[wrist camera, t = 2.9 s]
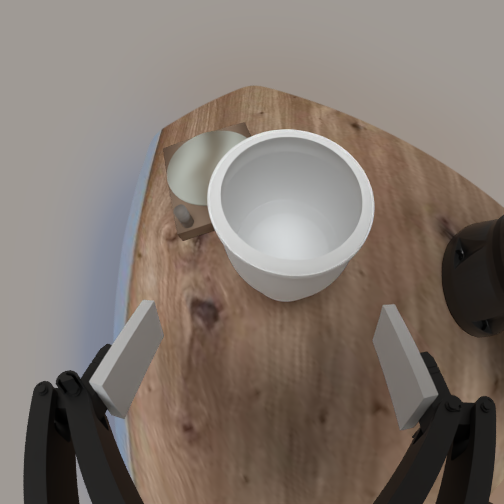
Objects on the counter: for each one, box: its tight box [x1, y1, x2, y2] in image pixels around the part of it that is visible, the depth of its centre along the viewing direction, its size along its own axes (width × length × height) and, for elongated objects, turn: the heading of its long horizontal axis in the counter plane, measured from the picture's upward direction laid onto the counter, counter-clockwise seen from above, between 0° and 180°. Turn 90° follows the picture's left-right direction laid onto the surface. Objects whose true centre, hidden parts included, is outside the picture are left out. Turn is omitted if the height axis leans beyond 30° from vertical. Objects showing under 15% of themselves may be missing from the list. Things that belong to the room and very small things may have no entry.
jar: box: [207, 129, 374, 302], centre depth 23 cm, size 11×10×15 cm
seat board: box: [163, 122, 251, 241], centre depth 32 cm, size 12×14×5 cm
